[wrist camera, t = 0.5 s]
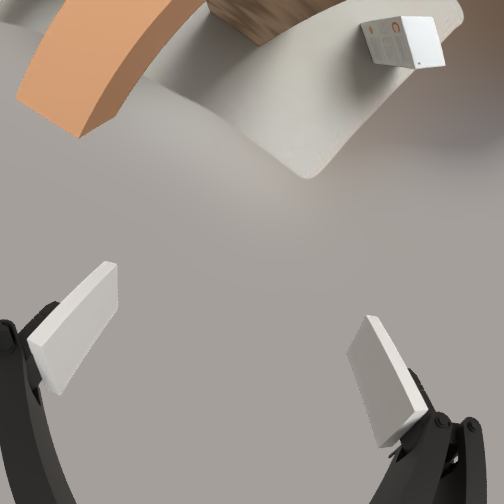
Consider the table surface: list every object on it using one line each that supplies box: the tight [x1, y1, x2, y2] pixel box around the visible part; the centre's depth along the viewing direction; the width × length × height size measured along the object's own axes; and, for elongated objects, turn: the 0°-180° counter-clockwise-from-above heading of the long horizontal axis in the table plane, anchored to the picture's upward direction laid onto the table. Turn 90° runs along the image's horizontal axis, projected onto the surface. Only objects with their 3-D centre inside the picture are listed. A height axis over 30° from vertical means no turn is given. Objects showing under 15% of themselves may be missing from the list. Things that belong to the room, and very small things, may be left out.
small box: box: [360, 16, 445, 69], centre depth 27 cm, size 8×6×13 cm
